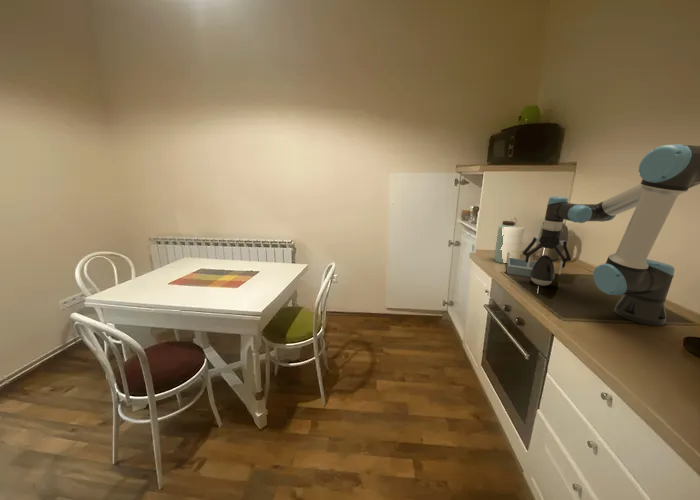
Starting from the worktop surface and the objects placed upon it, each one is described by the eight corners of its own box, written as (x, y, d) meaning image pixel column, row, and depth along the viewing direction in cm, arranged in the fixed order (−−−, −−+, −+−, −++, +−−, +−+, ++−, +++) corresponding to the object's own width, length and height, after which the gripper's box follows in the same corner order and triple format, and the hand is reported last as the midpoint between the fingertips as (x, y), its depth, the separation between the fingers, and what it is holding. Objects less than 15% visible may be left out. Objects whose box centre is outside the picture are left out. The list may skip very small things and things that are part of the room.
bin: (546, 279, 163) (548, 271, 162) (507, 273, 171) (508, 265, 170) (543, 269, 179) (544, 262, 178) (507, 264, 187) (508, 257, 186)
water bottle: (493, 262, 191) (499, 222, 184) (494, 258, 199) (500, 219, 193) (511, 265, 186) (518, 223, 180) (511, 260, 195) (518, 221, 188)
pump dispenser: (551, 289, 150) (558, 259, 146) (527, 284, 156) (533, 255, 152) (553, 283, 158) (560, 255, 154) (530, 278, 164) (536, 251, 160)
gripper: (581, 231, 147) (571, 273, 153) (522, 225, 158) (514, 264, 164) (584, 234, 141) (574, 278, 147) (522, 227, 151) (515, 268, 157)
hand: (542, 271), depth 155 cm, fingers open, 13 cm apart
